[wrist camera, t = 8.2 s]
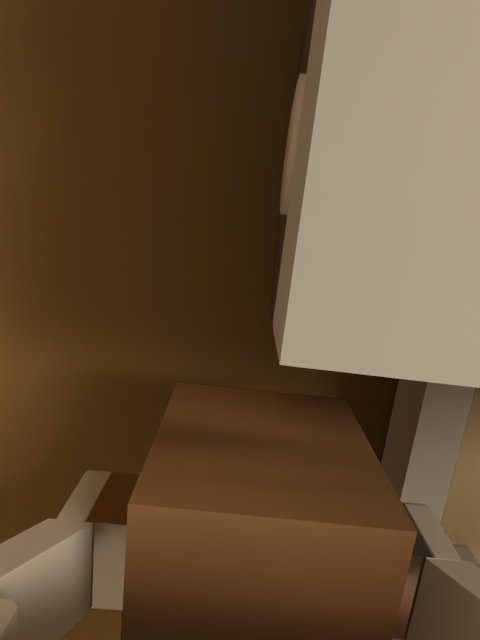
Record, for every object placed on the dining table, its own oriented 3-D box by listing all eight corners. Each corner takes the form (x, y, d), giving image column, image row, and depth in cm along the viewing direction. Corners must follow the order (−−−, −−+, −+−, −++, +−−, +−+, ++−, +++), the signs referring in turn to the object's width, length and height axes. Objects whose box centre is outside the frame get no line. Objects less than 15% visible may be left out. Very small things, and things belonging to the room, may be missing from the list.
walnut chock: (320, 543, 11) (368, 746, 7) (165, 528, 11) (116, 724, 7) (345, 399, 11) (416, 532, 6) (176, 381, 10) (128, 503, 6)
